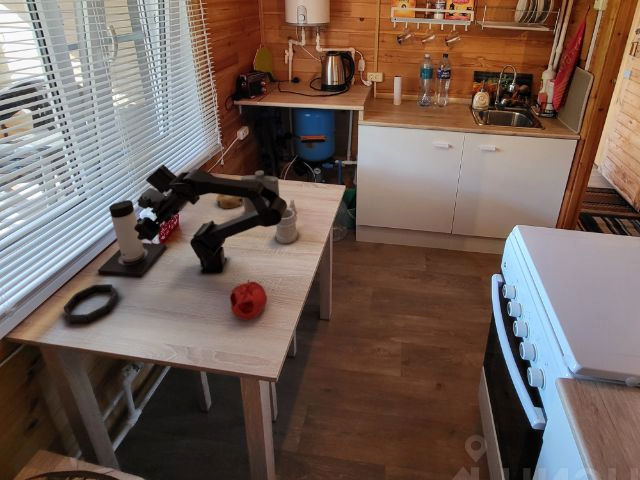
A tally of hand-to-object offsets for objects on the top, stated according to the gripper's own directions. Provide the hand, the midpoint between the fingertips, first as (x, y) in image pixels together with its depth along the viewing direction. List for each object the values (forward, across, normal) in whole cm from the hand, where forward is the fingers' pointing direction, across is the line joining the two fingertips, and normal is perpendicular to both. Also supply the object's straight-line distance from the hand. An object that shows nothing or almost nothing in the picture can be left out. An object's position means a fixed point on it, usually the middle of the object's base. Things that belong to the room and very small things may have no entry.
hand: (148, 229), depth 119 cm
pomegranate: (-17, +16, +36) cm, 43 cm away
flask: (-9, -31, +27) cm, 42 cm away
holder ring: (+13, +19, +4) cm, 24 cm away
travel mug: (+13, 0, +3) cm, 13 cm away
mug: (-19, -19, +37) cm, 46 cm away
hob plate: (+14, 0, +4) cm, 14 cm away
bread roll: (+2, -37, +16) cm, 40 cm away
